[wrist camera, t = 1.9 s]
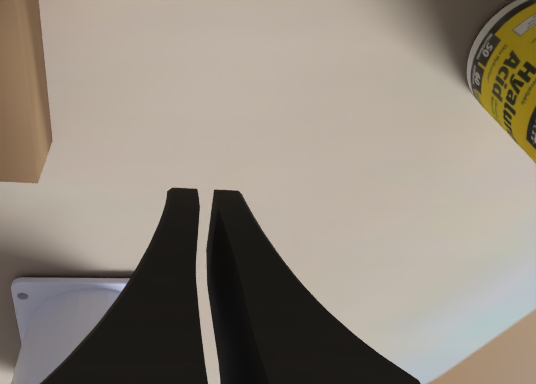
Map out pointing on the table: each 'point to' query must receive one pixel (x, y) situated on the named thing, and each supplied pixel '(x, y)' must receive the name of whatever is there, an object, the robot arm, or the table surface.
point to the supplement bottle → (508, 71)
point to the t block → (22, 93)
